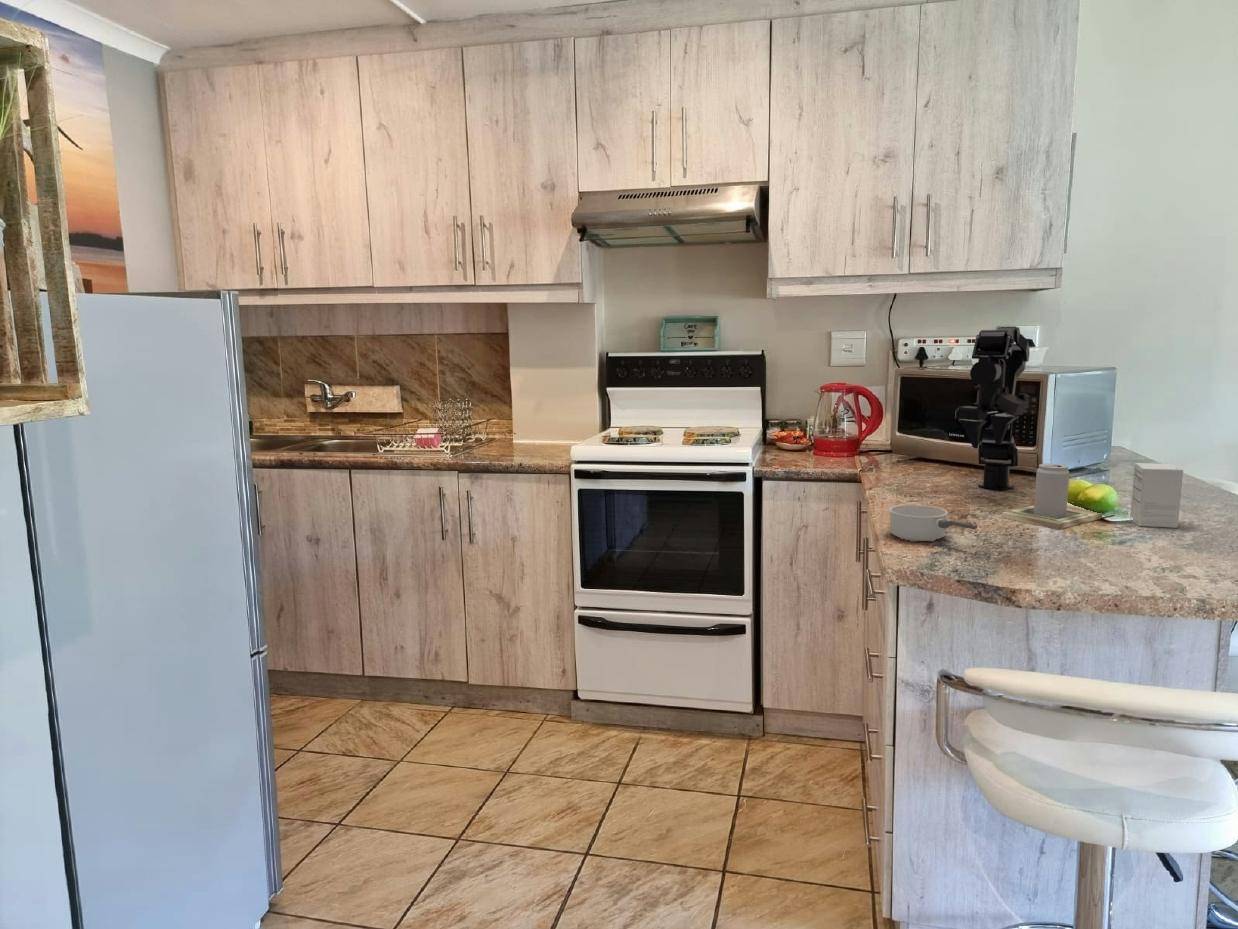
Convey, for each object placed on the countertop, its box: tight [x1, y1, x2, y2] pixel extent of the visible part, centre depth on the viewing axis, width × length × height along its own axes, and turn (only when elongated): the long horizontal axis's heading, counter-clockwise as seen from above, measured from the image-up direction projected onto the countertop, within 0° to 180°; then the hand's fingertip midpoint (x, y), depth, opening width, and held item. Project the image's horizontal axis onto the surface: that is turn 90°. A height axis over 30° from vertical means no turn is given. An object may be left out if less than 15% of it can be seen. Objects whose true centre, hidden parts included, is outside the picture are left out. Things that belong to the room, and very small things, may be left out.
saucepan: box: [888, 504, 978, 542], centre depth 164 cm, size 12×20×6 cm, turn 25°
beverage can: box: [1033, 463, 1070, 519], centre depth 180 cm, size 6×6×12 cm
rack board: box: [1001, 501, 1102, 530], centre depth 183 cm, size 22×13×1 cm, turn 122°
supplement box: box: [1129, 462, 1184, 529], centre depth 175 cm, size 7×7×13 cm
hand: (987, 446), depth 201 cm, fingers open, 9 cm apart
